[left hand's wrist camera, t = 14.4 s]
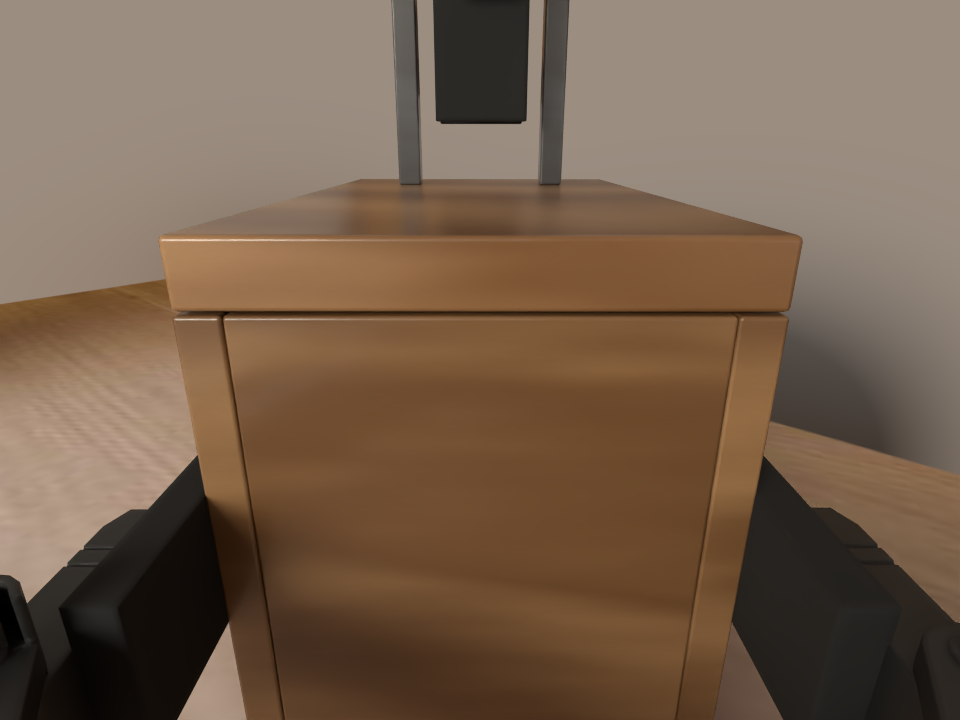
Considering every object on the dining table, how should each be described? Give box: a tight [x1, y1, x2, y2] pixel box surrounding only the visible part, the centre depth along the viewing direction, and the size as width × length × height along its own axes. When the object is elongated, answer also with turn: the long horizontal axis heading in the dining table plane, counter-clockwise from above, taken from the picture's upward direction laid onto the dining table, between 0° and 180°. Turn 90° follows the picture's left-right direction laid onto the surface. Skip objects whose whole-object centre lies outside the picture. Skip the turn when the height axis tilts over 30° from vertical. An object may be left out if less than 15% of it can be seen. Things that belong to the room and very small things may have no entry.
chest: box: [173, 311, 789, 720], centre depth 17 cm, size 14×9×10 cm, turn 0°
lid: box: [159, 0, 803, 312], centre depth 14 cm, size 15×9×8 cm, turn 0°
